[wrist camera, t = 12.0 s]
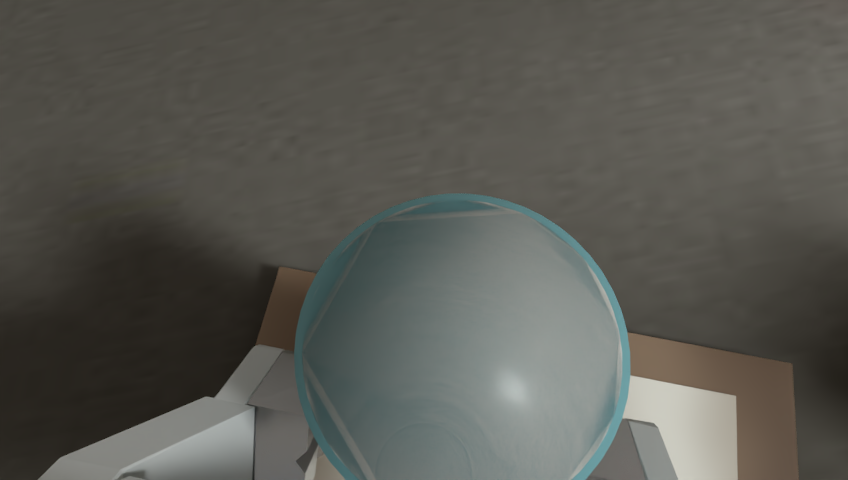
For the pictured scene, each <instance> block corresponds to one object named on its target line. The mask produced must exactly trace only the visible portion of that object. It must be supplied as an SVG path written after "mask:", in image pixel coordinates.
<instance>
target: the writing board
mask: <svg viewBox="0 0 848 480" xmlns="http://www.w3.org/2000/svg"><path fill="white" fill-rule="evenodd" d="M316 274H317V273H312V272H307V271H301V270H296V269H291V268H285V267H279V270H278V274H277V277H276V280H275V283H274V286H273V290H272V293H271V296H270V299H269V302H268V306H267V309H266V312H265V315H264V319H263V322H262V325H261V328H260V331H259V335H258V338H257V341H256V344H255V346H256V345H259V344H261V345H265V346H270V347H275V348H280V349H284V350H290V351H294V349H295V337H296V330H297V325H298V320H299V316H300V311H301V308H302V306H303V303H304V300H305V297H306V295H307V292H308V290H309V288H310V286H311V284H312V282H313V280H314V278H315V276H316ZM627 334H628V341H629V348H630V383H629V391H628V398H627V402H626V406H625V410H624V414H623V417H622V419H624V418H628V419H634V420H639V421H645V422H651V423H654V424H655V425H656V426H657V427H658V428H659V431H660V434H661V436H662V439H663V441H664V444H665V446H666V449H667V452H668V454H669V457H670V459H671V462H672V464H673V467H674V470H675V472H676V475H677V477H678V480H799V473H798V455H797V437H796V420H795V402H794V384H793V367H792V363H786V362H781V361H776V360H771V359H765V358H760V357H755V356H750V355H744V354H739V353H734V352H728V351H723V350H718V349H713V348H707V347H702V346H697V345H692V344H686V343H681V342H676V341H670V340H665V339H660V338H655V337H649V336H644V335H639V334H634V333H628V332H627ZM313 480H345V479H344V477H343V476H342V475H341V474H340V473H339V472H338V471H337V469H336V468H335V467H334V466H333V465H332V464H331V463H330V461H329V460H328V458H327V457H326V455H325V454H323V455H322V456H320V457H319V458H317V462H316V472H315V476H314V479H313Z"/></svg>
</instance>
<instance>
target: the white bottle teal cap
mask: <svg viewBox="0 0 848 480" xmlns="http://www.w3.org/2000/svg"><path fill="white" fill-rule="evenodd" d="M294 363H295V378H296V384H297V389H298V395H299V400H300V403H301V406H302V409H303V412H304V415H305V418H306V421H307V423H308V425H309V427H310V429H311V431H312V434H313V436H314V438H315V440H316V442H317V443H318V445H319V446H320V448H321V449H322V451H323V452H324V454H325V455H326V457H327V458H328V460H329V461H330V463H331V464H332V465H333V466H334V467H335V468H336V469H337V471H338V472H339V473H340V474H341V475H342V476H343V477H344V479H345V480H586V479H587V477H588V476H589V475H590V474H591V472H592V471H593V470H594V469H595V467H596V466H597V465H598V464H599V463H600V461H601V460H602V458H603V457H604V455H605V453H606V452H607V450H608V448H609V447H610V445H611V443H612V442H613V440H614V437H615V435H616V432H617V430H618V428H619V425H620V423H621V420H622V417H623V414H624V410H625V406H626V402H627V398H628V391H629V383H630V348H629V341H628V334H627V329H626V326H625V322H624V318H623V315H622V311H621V308H620V306H619V304H618V301H617V299H616V297H615V294H614V292H613V290H612V288H611V286H610V284H609V283H608V281H607V279H606V277H605V276H604V274H603V272H602V271H601V269H600V268H599V267H598V265H597V264H596V263H595V261H594V260H593V259H592V257H591V256H590V255H589V254H588V253H587V252H586V251H585V250H584V249H583V247H582V246H581V245H580V244H579V243H578V242H577V241H576V240H575V239H574V238H572V237H571V236H570V235H569V234H568V233H566V232H565V231H564V230H563V229H562V228H560V227H559V226H557V225H556V224H554V223H553V222H551V221H550V220H548V219H547V218H545V217H543V216H542V215H540V214H538V213H536V212H534V211H532V210H530V209H528V208H526V207H523V206H520V205H517V204H515V203H512V202H509V201H506V200H502V199H498V198H494V197H489V196H483V195H474V194H442V195H433V196H427V197H422V198H418V199H414V200H410V201H407V202H404V203H402V204H399V205H396V206H394V207H391V208H389V209H387V210H385V211H383V212H381V213H379V214H377V215H375V216H374V217H372V218H371V219H369V220H368V221H366V222H365V223H363V224H362V225H360V226H359V227H357V228H356V229H355V230H354V231H353V232H352V233H350V234H349V235H348V236H347V237H346V238H345V239H344V240H343V241H342V242H341V243H340V244H339V245H338V246H337V247H336V248H335V249H334V251H333V252H332V253H331V254H330V255H329V256H328V258H327V259H326V261H325V262H324V264H323V265H322V266H321V268H320V269H319V271H318V272H317V274H316V276H315V278H314V280H313V282H312V284H311V286H310V288H309V290H308V292H307V295H306V297H305V300H304V303H303V306H302V308H301V311H300V316H299V320H298V325H297V330H296V337H295V349H294Z"/></svg>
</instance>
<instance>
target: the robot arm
mask: <svg viewBox="0 0 848 480" xmlns="http://www.w3.org/2000/svg"><path fill="white" fill-rule="evenodd" d="M323 454H324V452H323V451H322V449H321V448H320V446H319V445H318V443H317V442H316V440H315V438H314V436H313V434H312V431H311V429H310V427H309V425H308V423H307V421H306V418H305V415H304V412H303V409H302V406H301V403H300V400H299V395H298V389H297V384H296V378H295V363H294V351H290V350H284V349H280V348H275V347H270V346H265V345H261V344H259V345H256V346H254V347H253V348H252V349H251V350H250V352H249V353H248V354H247V356H246V357H245V358H244V360H243V361H242V362H241V363H240V365H239V366H238V367H237V369H236V370H235V371H234V373H233V374H232V375H231V377H230V378H229V379H228V380H227V382H226V383H225V384H224V386H223V387H222V388H221V390H220V391H219V392H218V394H217V395H216V396H215V397H214V398H211V397H204V398H201V399H199V400H196V401H194V402H192V403H189V404H187V405H185V406H182V407H180V408H177V409H175V410H173V411H170V412H168V413H165V414H163V415H161V416H158V417H156V418H154V419H151V420H149V421H146V422H144V423H142V424H139V425H137V426H134V427H132V428H130V429H127V430H125V431H123V432H120V433H118V434H115V435H113V436H111V437H108V438H106V439H103V440H101V441H99V442H96V443H94V444H92V445H89V446H87V447H84V448H82V449H80V450H77V451H75V452H72V453H70V454H68V455H65V456H63V457H61V458H59V459H58V460H57V461H56V462H55V463H54V464H53V465H52V466H51V467H50V468H49V469H48V470H47V471H46V472H45V473H44V474H43V475H42V476H41V477H40V478H39V479H38V480H313V479H314V476H315V472H316V462H317V458H319V457H320V456H322V455H323ZM586 480H678V477H677V475H676V472H675V470H674V467H673V464H672V462H671V459H670V457H669V454H668V452H667V449H666V446H665V444H664V441H663V439H662V436H661V434H660V431H659V428H658V427H657V426H656V425H655V424H654V423H651V422H645V421H639V420H634V419H628V418H624V419H622V420H621V423H620V425H619V428H618V430H617V432H616V435H615V437H614V440H613V442H612V443H611V445H610V447H609V448H608V450H607V452H606V453H605V455H604V457H603V458H602V460H601V461H600V463H599V464H598V465H597V466H596V467H595V469H594V470H593V471H592V472H591V474H590V475H589V476H588V477H587V479H586Z"/></svg>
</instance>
